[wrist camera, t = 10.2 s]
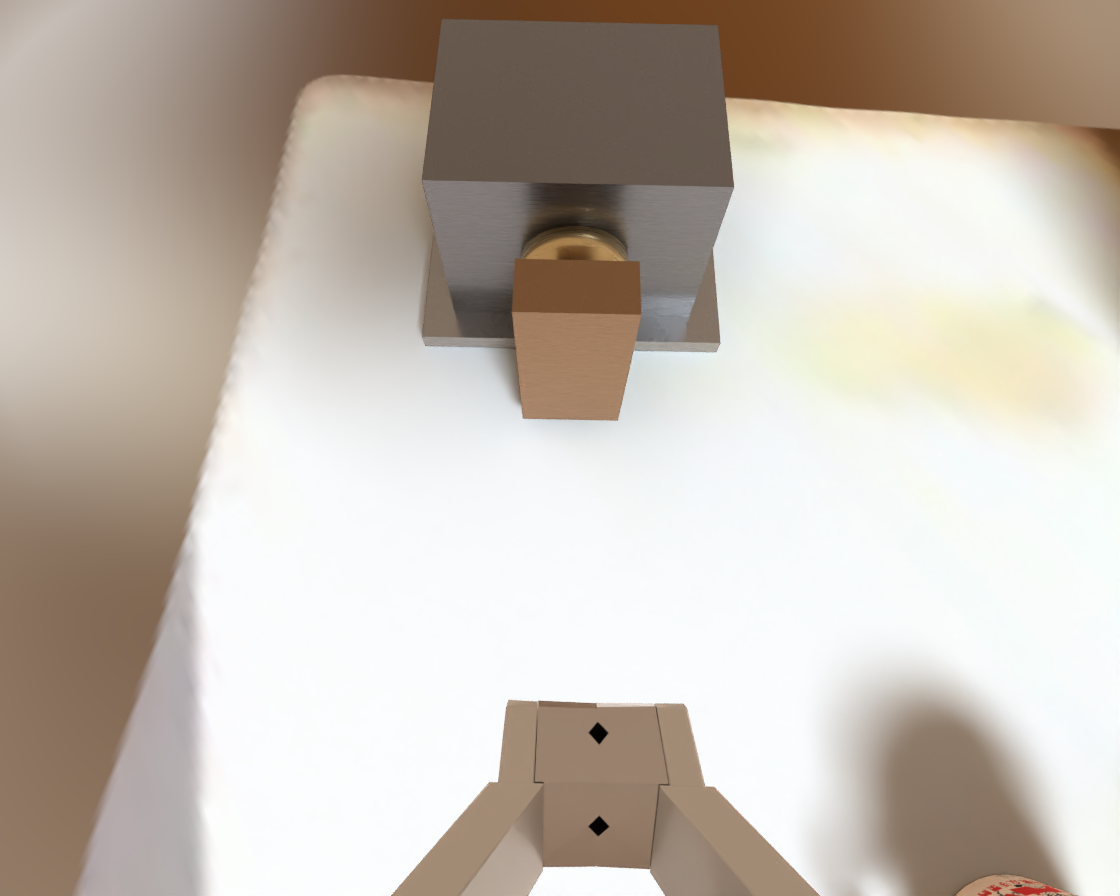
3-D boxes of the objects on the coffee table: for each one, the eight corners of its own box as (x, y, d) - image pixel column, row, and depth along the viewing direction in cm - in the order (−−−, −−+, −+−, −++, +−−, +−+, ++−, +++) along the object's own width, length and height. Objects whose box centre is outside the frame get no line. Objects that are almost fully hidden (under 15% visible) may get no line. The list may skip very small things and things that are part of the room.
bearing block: (716, 352, 45) (776, 219, 33) (425, 345, 45) (377, 210, 33) (700, 152, 52) (746, -20, 40) (447, 146, 52) (414, -28, 40)
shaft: (620, 420, 42) (645, 314, 30) (519, 418, 42) (507, 311, 30) (616, 165, 49) (635, 6, 38) (531, 163, 49) (525, 3, 38)
